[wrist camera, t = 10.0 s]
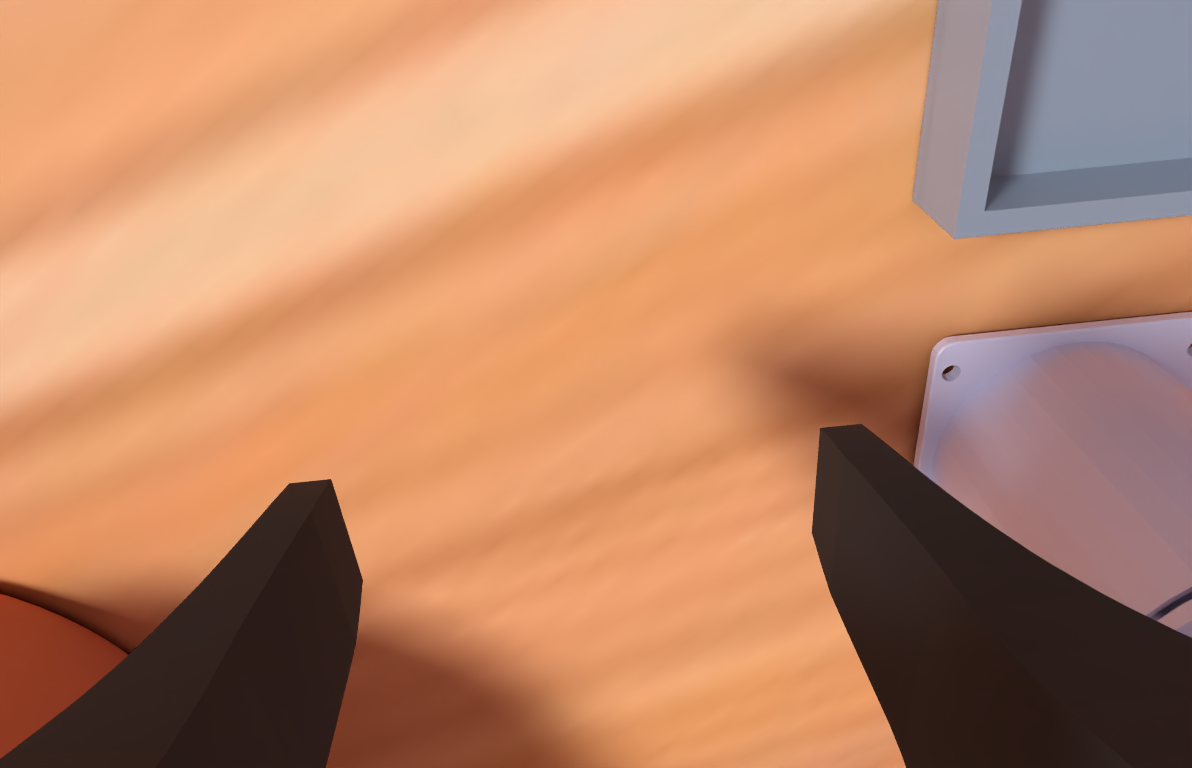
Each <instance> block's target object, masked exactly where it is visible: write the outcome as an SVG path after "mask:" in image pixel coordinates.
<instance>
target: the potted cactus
mask: <svg viewBox="0 0 1192 768" xmlns="http://www.w3.org/2000/svg"><path fill="white" fill-rule="evenodd" d="M127 656H128V654H127V653H125V652H124V651H122V650H121V649H119V648H118V647H117V646H115V645H114V644H112V643H110V642H109V641H107V640H105V639H104V638H102V637H100V636H99V635H97V634H95V633H93V632H92V631H90V630H88V629H86V628H84V627H82V626H80V625H78V624H76V623H74V622H72V621H70V620H68V619H66V618H64V617H62V616H60V615H57V614H55V613H53V612H50V611H48V610H46V609H43V608H41V607H39V606H36V605H33V604H30V603H27V602H24V601H22V600H19V599H16V598H13V597H10V596H6V595H3V594H0V759H1V758H2V757H3V756H5V755H6V754H7V753H9V752H10V751H11V750H12V749H14V748H15V747H16V746H18V745H19V744H20V743H22V742H23V741H24V740H25V739H27V738H28V737H29V736H31V735H32V734H33V733H35V732H36V731H37V730H39V729H40V728H41V727H42V726H44V725H45V724H46V723H48V722H49V721H50V720H52V719H53V718H54V717H55V716H57V715H58V714H59V713H61V712H62V711H63V710H65V709H66V708H67V707H69V706H70V705H71V704H72V703H73V702H75V701H76V700H77V699H78V698H80V697H81V696H82V695H83V694H84V693H86V692H87V691H88V690H89V689H90V688H91V687H93V686H94V685H95V684H96V683H97V682H98V681H99V680H101V679H102V678H103V677H104V676H105V675H106V674H108V673H109V672H110V671H111V670H112V669H113V668H115V667H116V666H117V665H118V664H119V663H120V662H121V661H122V660H123V659H125V658H126V657H127Z"/></svg>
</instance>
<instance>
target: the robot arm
mask: <svg viewBox="0 0 1192 768" xmlns="http://www.w3.org/2000/svg"><path fill="white" fill-rule="evenodd" d="M1191 344H1192V312H1183V313H1173V314H1164V315H1154V316H1144V317H1134V318H1125V319H1115V320H1105V321H1095V322H1086V323H1076V324H1066V325H1056V326H1047V327H1037V328H1027V329H1017V330H1008V331H998V332H988V333H978V334H969V335H959V336H950V337H947V338H944V339H942V340H941V341H939V342H938V343H937V344H936V345H935V346H934V347H933V350H932V352H931V357H930V364H929V370H928V376H927V383H926V389H925V395H924V402H923V408H922V414H921V420H920V427H919V433H918V439H917V446H916V452H915V458H914V465H912V464H911V463H909V462H908V461H907V460H906V459H904V458H903V457H902V456H901V455H899V454H898V453H897V452H896V451H895V450H893V449H892V448H891V447H890V446H888V445H887V444H886V443H885V442H884V441H882V440H881V439H880V438H879V437H877V436H876V435H875V434H874V433H872V432H871V431H870V430H869V429H867V428H866V427H865V426H863V425H862V424H856V425H846V426H837V427H827V428H820V438H819V451H818V463H817V476H816V488H815V500H814V513H813V525H812V534H813V538H814V541H815V545H816V548H817V551H818V555H819V558H820V562H821V565H822V568H823V572H824V575H825V578H826V581H827V584H828V587H829V590H830V593H831V596H832V598H833V600H834V602H835V605H836V607H837V609H838V612H839V614H840V616H841V618H842V621H843V623H844V625H845V627H846V629H847V632H848V634H849V636H850V638H851V641H852V643H853V645H854V647H855V649H856V652H857V654H858V656H859V658H860V660H861V663H862V665H863V667H864V669H865V671H866V674H867V676H868V678H869V680H870V682H871V685H872V687H873V689H874V691H875V693H876V696H877V698H878V700H879V702H880V704H881V707H882V709H883V711H884V713H885V715H886V718H887V720H888V722H889V724H890V727H891V729H892V732H893V734H894V736H895V739H896V741H897V744H898V746H899V749H900V751H901V754H902V757H903V759H904V762H905V765H906V768H1192V346H1191V347H1190V348H1189V346H1190V345H1191ZM952 365H955V366H954V368H953V369H952V370H951V371H950V372H949V373H946V374H942V373H943V371H944V370H945V369H946V368H947V367H949V366H952ZM362 583H363V579H362V576H361V573H360V570H359V566H358V563H357V560H356V557H355V554H354V551H353V547H352V544H351V541H350V538H349V535H348V531H347V528H346V525H345V522H344V519H343V516H342V512H341V509H340V506H339V503H338V500H337V496H336V493H335V490H334V487H333V484H332V481H331V479H328V480H319V481H309V482H299V483H290V484H289V485H288V486H287V487H286V488H285V489H284V490H283V491H282V492H281V493H280V494H279V496H278V497H277V498H276V499H275V500H274V501H273V502H272V503H271V505H270V506H269V507H268V508H267V509H266V510H265V512H264V513H263V514H262V515H261V516H260V517H259V518H258V520H257V521H256V522H255V523H254V524H253V525H252V526H251V528H250V529H249V530H248V531H247V532H246V533H245V534H244V536H243V537H242V538H241V539H240V540H239V541H238V542H237V544H236V545H235V546H234V547H233V548H232V549H231V550H230V551H229V553H228V554H227V555H226V556H225V557H224V558H223V559H222V560H221V561H220V563H219V564H218V565H217V566H216V567H215V568H214V569H213V570H212V571H211V573H210V574H209V575H208V576H207V577H206V578H205V579H204V580H203V581H202V582H201V584H200V585H199V586H198V587H197V588H196V589H195V590H194V591H193V592H192V593H191V594H190V595H189V596H188V597H187V598H186V599H185V600H184V601H183V602H182V603H181V604H180V605H179V606H178V607H177V608H176V609H175V610H174V611H173V612H172V613H171V614H170V615H169V616H168V617H167V618H166V619H165V620H164V621H163V622H162V623H161V624H160V625H159V626H158V627H157V628H156V629H155V630H154V631H153V632H152V633H151V634H150V635H149V636H148V637H147V638H146V639H145V640H144V641H143V642H142V643H141V644H140V645H139V646H138V647H137V648H136V649H134V650H133V651H132V652H131V653H130V654H129V655H128V656H127V657H126V658H125V659H123V660H122V661H121V662H120V663H119V664H118V665H117V666H116V667H115V668H113V669H112V670H111V671H110V672H109V673H108V674H106V675H105V676H104V677H103V678H102V679H101V680H99V681H98V682H97V683H96V684H95V685H94V686H93V687H91V688H90V689H89V690H88V691H87V692H86V693H84V694H83V695H82V696H81V697H80V698H78V699H77V700H76V701H75V702H73V703H72V704H71V705H70V706H69V707H67V708H66V709H65V710H63V711H62V712H61V713H59V714H58V715H57V716H55V717H54V718H53V719H52V720H50V721H49V722H48V723H46V724H45V725H44V726H42V727H41V728H40V729H39V730H37V731H36V732H35V733H33V734H32V735H31V736H29V737H28V738H27V739H25V740H24V741H23V742H22V743H20V744H19V745H18V746H16V747H15V748H14V749H12V750H11V751H10V752H9V753H7V754H6V755H5V756H3V757H2V758H1V759H0V768H326V764H327V760H328V756H329V752H330V748H331V744H332V739H333V735H334V731H335V727H336V723H337V719H338V715H339V711H340V707H341V703H342V699H343V695H344V691H345V687H346V683H347V679H348V675H349V671H350V666H351V662H352V658H353V654H354V649H355V645H356V638H357V630H358V622H359V614H360V604H361V593H362Z"/></svg>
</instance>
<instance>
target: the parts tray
mask: <svg viewBox="0 0 1192 768" xmlns="http://www.w3.org/2000/svg"><path fill="white" fill-rule="evenodd" d="M912 201H913V202H914V203H916V204H917V205H918V206H919V207H920V208H921V209H922V210H923V211H924V212H925V213H926V214H927V215H929V216H930V217H931V218H932V219H933V220H934V221H935V222H936V223H937V224H938V225H939V226H941V227H942V228H943V229H944V230H945V231H946V232H947V233H948V234H949V235H950V236H951V237H952V238H954V239H959V238H969V237H979V236H989V235H999V234H1009V233H1019V232H1028V231H1038V230H1048V229H1058V228H1068V227H1078V226H1088V225H1098V224H1108V223H1118V222H1128V221H1138V220H1148V219H1158V218H1168V217H1178V216H1188V215H1192V0H938V6H937V13H936V21H935V29H934V36H933V44H932V52H931V60H930V67H929V75H928V83H927V91H926V98H925V106H924V114H923V121H922V129H921V137H920V145H919V152H918V160H917V168H916V175H915V183H914V191H913V199H912Z"/></svg>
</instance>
